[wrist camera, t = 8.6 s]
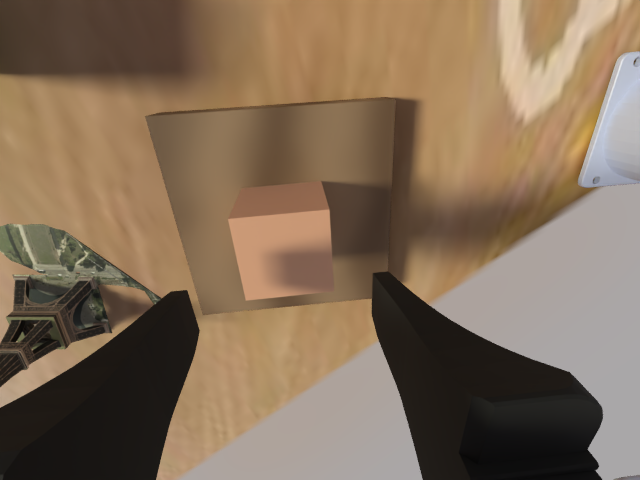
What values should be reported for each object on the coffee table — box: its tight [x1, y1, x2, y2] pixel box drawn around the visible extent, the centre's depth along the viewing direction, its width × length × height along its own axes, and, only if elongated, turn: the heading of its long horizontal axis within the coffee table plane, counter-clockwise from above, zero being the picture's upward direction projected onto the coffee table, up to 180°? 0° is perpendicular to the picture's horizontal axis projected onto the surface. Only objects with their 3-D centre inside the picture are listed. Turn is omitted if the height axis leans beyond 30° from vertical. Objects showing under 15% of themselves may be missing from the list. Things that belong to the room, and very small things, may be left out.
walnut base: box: [145, 97, 396, 315], centre depth 20 cm, size 13×13×2 cm
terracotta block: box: [228, 181, 334, 301], centre depth 17 cm, size 5×5×4 cm
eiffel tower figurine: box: [0, 224, 161, 387], centre depth 18 cm, size 15×10×13 cm
